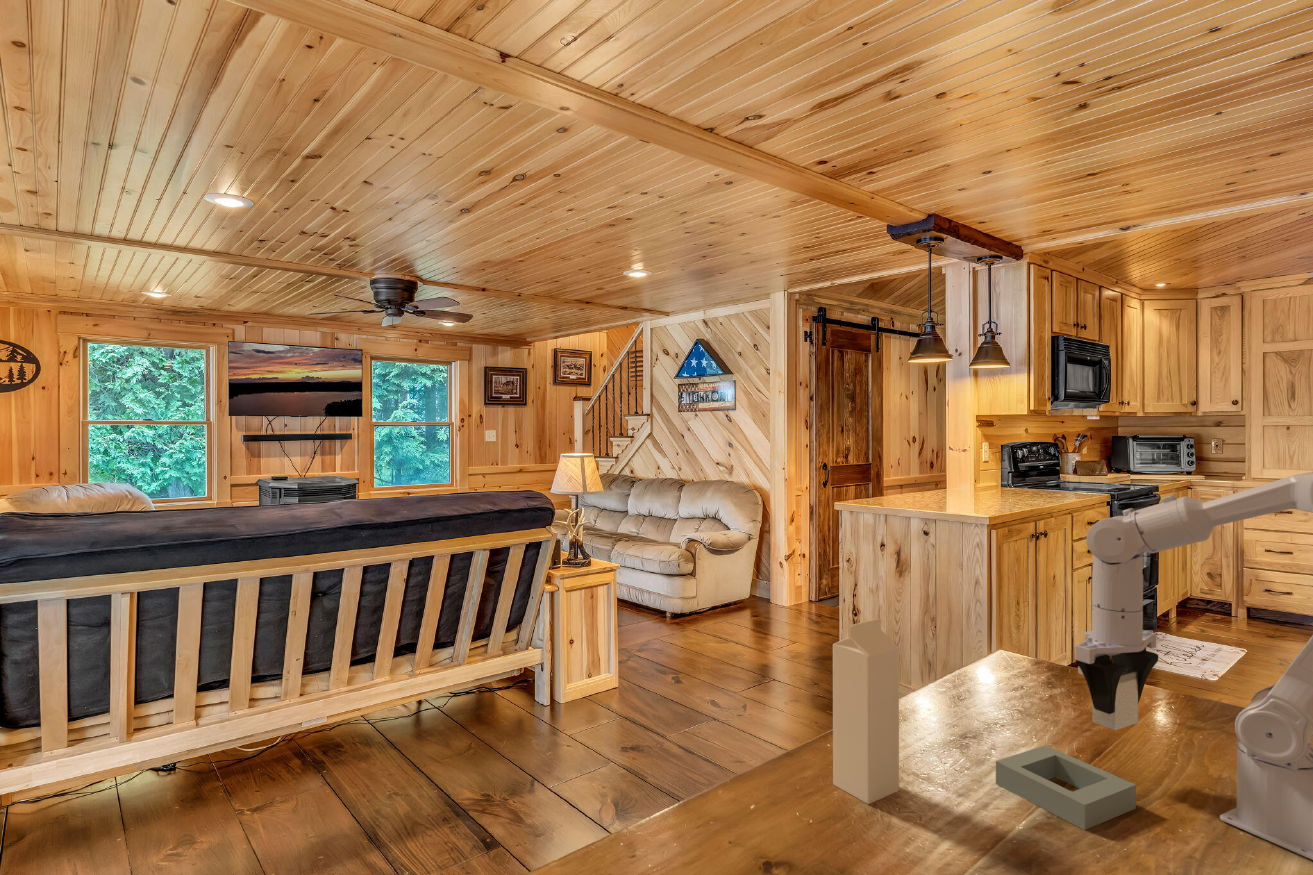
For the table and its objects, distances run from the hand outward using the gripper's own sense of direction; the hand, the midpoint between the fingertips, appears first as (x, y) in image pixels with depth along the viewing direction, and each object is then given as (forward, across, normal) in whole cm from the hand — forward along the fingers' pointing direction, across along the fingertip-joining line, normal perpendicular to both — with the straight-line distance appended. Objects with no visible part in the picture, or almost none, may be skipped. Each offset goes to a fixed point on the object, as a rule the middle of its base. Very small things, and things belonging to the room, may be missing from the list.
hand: (1116, 706), depth 96 cm
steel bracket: (+2, 0, 0) cm, 2 cm away
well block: (+9, +11, 0) cm, 14 cm away
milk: (+10, +32, -13) cm, 36 cm away
